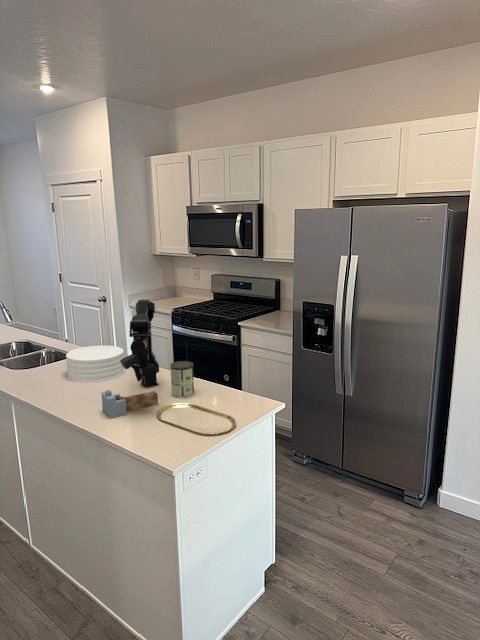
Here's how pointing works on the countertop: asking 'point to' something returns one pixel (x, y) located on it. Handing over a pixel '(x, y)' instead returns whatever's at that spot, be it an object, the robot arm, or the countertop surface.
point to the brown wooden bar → (140, 400)
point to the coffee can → (182, 379)
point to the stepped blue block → (113, 404)
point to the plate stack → (95, 363)
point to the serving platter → (199, 410)
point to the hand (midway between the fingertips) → (142, 384)
